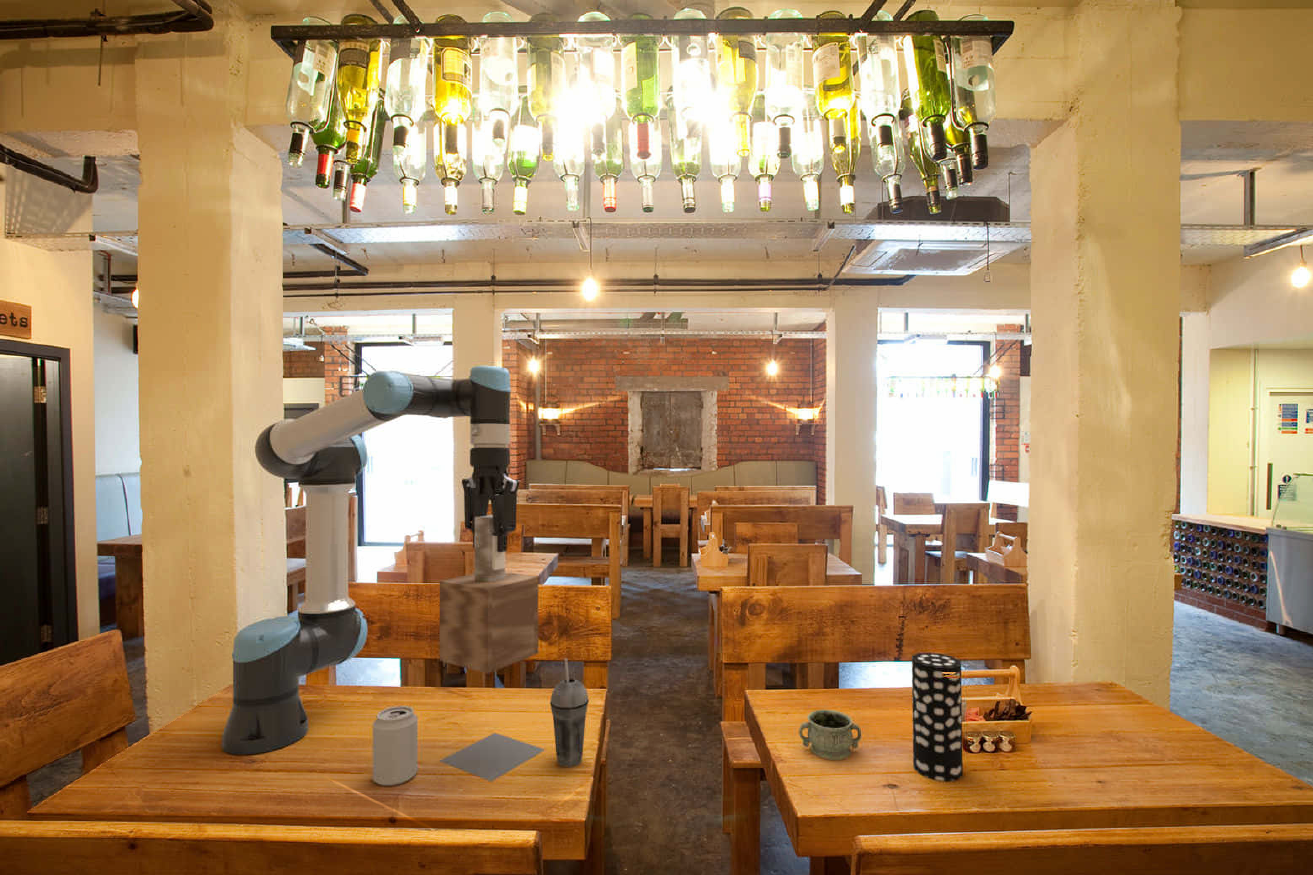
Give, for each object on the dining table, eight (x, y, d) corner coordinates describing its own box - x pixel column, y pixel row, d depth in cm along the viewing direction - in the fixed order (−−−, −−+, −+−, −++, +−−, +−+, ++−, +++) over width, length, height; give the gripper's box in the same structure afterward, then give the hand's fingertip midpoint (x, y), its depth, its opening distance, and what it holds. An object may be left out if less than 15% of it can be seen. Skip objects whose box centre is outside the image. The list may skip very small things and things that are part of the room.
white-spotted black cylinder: (959, 762, 120) (958, 655, 120) (965, 784, 112) (963, 669, 112) (912, 755, 122) (910, 650, 123) (914, 776, 115) (913, 664, 115)
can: (424, 769, 118) (424, 703, 118) (404, 790, 111) (405, 721, 111) (386, 767, 119) (386, 702, 119) (363, 788, 112) (364, 719, 112)
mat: (439, 762, 121) (439, 760, 121) (494, 734, 132) (494, 732, 132) (491, 783, 113) (491, 780, 113) (545, 751, 125) (545, 749, 125)
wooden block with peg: (439, 660, 121) (440, 517, 121) (491, 642, 132) (491, 512, 132) (487, 673, 114) (488, 522, 114) (538, 653, 125) (538, 515, 125)
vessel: (856, 741, 129) (855, 709, 129) (867, 762, 120) (866, 729, 120) (796, 739, 130) (795, 708, 130) (802, 760, 121) (802, 727, 121)
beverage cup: (596, 758, 122) (595, 653, 122) (575, 776, 115) (575, 664, 116) (564, 750, 125) (563, 648, 125) (542, 767, 118) (542, 659, 119)
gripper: (444, 446, 125) (444, 566, 125) (507, 446, 116) (507, 575, 115) (474, 446, 131) (474, 560, 131) (536, 446, 122) (536, 568, 122)
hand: (489, 567), depth 123 cm, fingers closed on wooden block with peg, 4 cm apart
